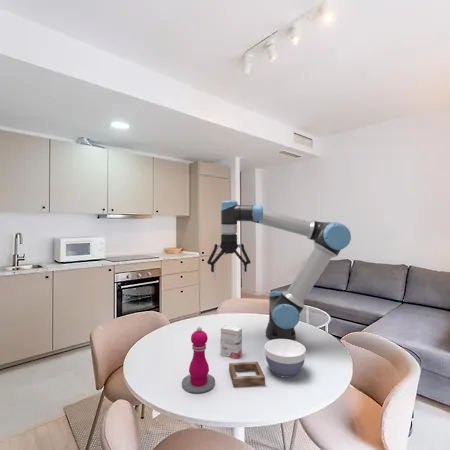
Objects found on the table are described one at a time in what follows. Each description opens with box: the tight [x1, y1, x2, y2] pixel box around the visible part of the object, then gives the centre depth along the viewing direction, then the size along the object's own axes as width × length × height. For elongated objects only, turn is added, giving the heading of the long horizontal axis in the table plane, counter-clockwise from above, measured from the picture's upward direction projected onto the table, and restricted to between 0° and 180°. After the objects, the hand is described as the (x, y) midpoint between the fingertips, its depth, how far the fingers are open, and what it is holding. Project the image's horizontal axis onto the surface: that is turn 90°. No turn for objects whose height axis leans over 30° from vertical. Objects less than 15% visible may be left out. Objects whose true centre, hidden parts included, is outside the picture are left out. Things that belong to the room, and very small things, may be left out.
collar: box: [228, 361, 266, 388], centre depth 109 cm, size 12×12×3 cm
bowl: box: [264, 339, 307, 378], centre depth 114 cm, size 16×16×10 cm
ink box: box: [220, 325, 243, 360], centre depth 127 cm, size 9×5×12 cm, turn 65°
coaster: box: [181, 373, 216, 395], centre depth 105 cm, size 12×12×1 cm
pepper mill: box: [188, 326, 210, 386], centre depth 105 cm, size 7×7×20 cm
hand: (228, 278), depth 136 cm, fingers open, 13 cm apart
